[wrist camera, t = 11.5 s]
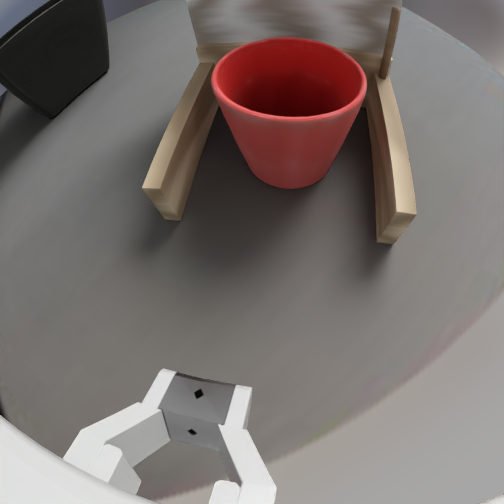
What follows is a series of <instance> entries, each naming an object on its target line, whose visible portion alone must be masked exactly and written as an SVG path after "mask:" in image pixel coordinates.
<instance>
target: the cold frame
mask: <svg viewBox="0 0 504 504" xmlns="http://www.w3.org/2000/svg"><path fill="white" fill-rule="evenodd" d="M186 2H187V6H188V10H189V14H190V17H191V21H192V25H193V29H194V32H195V36H196V40H197V44H198V46H197V47H196V51H197V54H198V58H199V62H200V64H199V66H198V67H197V69H196V71H195V73H194V75H193V77H192V78H191V80H190V82H189V84H188V86H187V88H186V90H185V92H184V94H183V96H182V98H181V100H180V102H179V104H178V106H177V108H176V110H175V112H174V114H173V116H172V118H171V120H170V123H169V125H168V127H167V129H166V131H165V133H164V136H163V138H162V140H161V142H160V145H159V147H158V149H157V152H156V154H155V156H154V159H153V161H152V164H151V166H150V169H149V171H148V174H147V176H146V179H145V181H144V184H143V186H142V189H143V190H144V192H145V193H146V194H147V196H148V197H149V198H150V200H151V201H152V202H153V204H154V205H155V207H156V208H157V209H158V211H159V212H160V213H161V215H162V216H163V217H164V219H165V220H176V221H181V219H182V216H183V212H184V209H185V206H186V202H187V199H188V195H189V192H190V189H191V186H192V182H193V179H194V176H195V173H196V170H197V167H198V163H199V160H200V157H201V154H202V151H203V148H204V145H205V142H206V139H207V137H208V134H209V131H210V128H211V125H212V122H213V120H214V117H215V114H216V111H217V109H218V106H219V104H218V101H217V99H216V97H215V94H214V92H213V89H212V85H211V77H212V73H213V70H214V68H215V66H216V64H217V63H218V62H219V61H220V60H221V59H222V58H223V57H224V56H225V55H226V54H227V53H229V52H230V51H232V50H234V49H236V48H238V47H240V46H242V45H245V44H247V43H250V42H254V41H258V40H262V39H268V38H278V37H295V38H304V39H310V40H315V41H319V42H323V43H326V44H329V45H331V46H334V47H336V48H338V49H340V50H341V51H343V52H345V53H346V54H348V55H349V56H350V57H352V58H353V59H354V60H355V61H356V62H357V63H358V64H359V65H360V67H361V68H362V70H363V72H364V73H365V76H366V80H367V90H366V94H365V97H364V100H363V102H362V105H361V107H364V108H366V110H367V117H368V124H369V132H370V141H371V150H372V161H373V173H374V187H375V207H376V242H380V243H388V244H394V243H395V242H396V241H397V239H398V238H399V237H400V236H401V234H402V233H403V232H404V231H405V229H406V228H407V227H408V225H409V224H410V223H411V222H412V220H413V219H414V218H415V216H416V215H417V212H416V203H415V195H414V188H413V181H412V174H411V168H410V162H409V157H408V151H407V146H406V141H405V136H404V132H403V127H402V123H401V119H400V115H399V111H398V107H397V103H396V99H395V96H394V92H393V89H392V85H391V82H390V78H389V72H390V68H391V64H392V58H391V57H392V52H393V48H394V44H395V39H396V34H397V29H398V25H399V19H400V14H401V6H402V0H186Z"/></svg>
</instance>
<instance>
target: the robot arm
mask: <svg viewBox="0 0 504 504" xmlns="http://www.w3.org/2000/svg"><path fill="white" fill-rule="evenodd" d="M251 398H252V387H246V386H240V385H236V384H230V383H225V382H219V381H214V380H209V379H202V378H198V377H194V376H190V375H186V374H182V373H179V372H175V371H171V370H167V369H164V368H163V369H162V370H161V371H160V372H159V373H158V375H157V377H156V379H155V380H154V382H153V384H152V386H151V387H150V389H149V391H148V393H147V395H146V396H145V398H144V400H143V402H142V403H139V402H137V403H135V404H133V405H131V406H129V407H127V408H125V409H123V410H121V411H119V412H117V413H115V414H113V415H111V416H109V417H107V418H105V419H103V420H101V421H99V422H97V423H95V424H93V425H91V426H88V427H86V428H84V429H82V430H81V431H80V433H79V434H78V436H77V437H76V439H75V440H74V442H73V443H72V445H71V447H70V448H69V450H68V451H67V453H66V454H65V456H64V458H63V459H62V458H60V457H58V456H57V455H55V454H54V453H52V452H50V451H49V450H47V449H46V448H44V447H43V446H41V445H40V444H38V443H37V442H35V441H34V440H32V439H31V438H30V437H28V436H27V435H25V434H24V433H23V432H21V431H20V430H19V429H17V428H16V427H15V426H13V425H12V424H11V423H9V422H8V421H7V420H6V419H4V418H3V417H2V416H1V415H0V504H159V503H157V502H154V501H151V500H148V499H145V498H143V497H140V496H137V495H136V493H137V491H138V489H139V486H140V484H141V480H140V478H139V476H138V475H137V474H136V472H135V471H134V469H133V468H132V467H133V466H135V465H136V464H138V463H139V462H141V461H142V460H143V459H145V458H146V457H148V456H149V455H151V454H152V453H153V452H155V451H156V450H158V449H159V448H161V447H162V446H163V445H165V444H166V443H167V442H169V441H170V439H172V440H176V441H180V442H184V443H188V444H192V445H196V446H200V447H203V448H207V449H211V450H215V451H219V452H220V455H221V458H222V461H223V464H224V466H225V469H226V472H227V474H228V477H229V479H230V481H224V480H219V481H217V482H215V485H214V488H213V492H212V495H211V498H210V501H209V504H274V501H275V495H276V489H277V488H276V486H275V484H274V482H273V480H272V478H271V476H270V474H269V472H268V471H267V469H266V467H265V465H264V463H263V461H262V459H261V457H260V455H259V453H258V451H257V449H256V447H255V445H254V443H253V441H252V439H251V437H250V435H249V433H248V431H247V430H246V429H247V424H248V419H249V413H250V407H251ZM479 504H504V494H502V495H499V496H497V497H494V498H492V499H489V500H487V501H484V502H482V503H479Z"/></svg>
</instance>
